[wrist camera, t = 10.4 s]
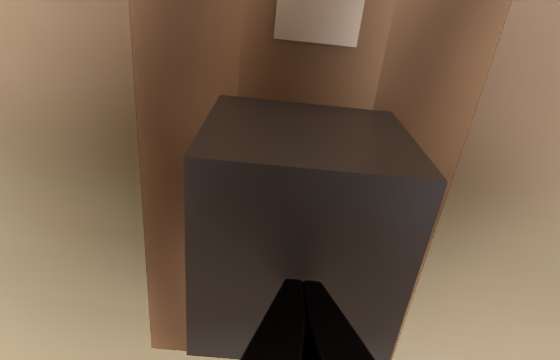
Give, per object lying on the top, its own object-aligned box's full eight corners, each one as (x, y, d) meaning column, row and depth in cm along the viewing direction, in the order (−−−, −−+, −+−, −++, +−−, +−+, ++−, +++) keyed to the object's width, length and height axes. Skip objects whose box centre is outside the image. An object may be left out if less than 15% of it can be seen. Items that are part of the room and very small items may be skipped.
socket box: (491, -82, 13) (559, -103, 10) (376, 318, 21) (392, 379, 18) (154, -123, 13) (109, -158, 9) (169, 300, 21) (147, 359, 17)
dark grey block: (379, 95, 15) (448, 181, 8) (350, 230, 17) (386, 370, 11) (228, 81, 14) (183, 156, 8) (223, 219, 17) (186, 354, 11)
